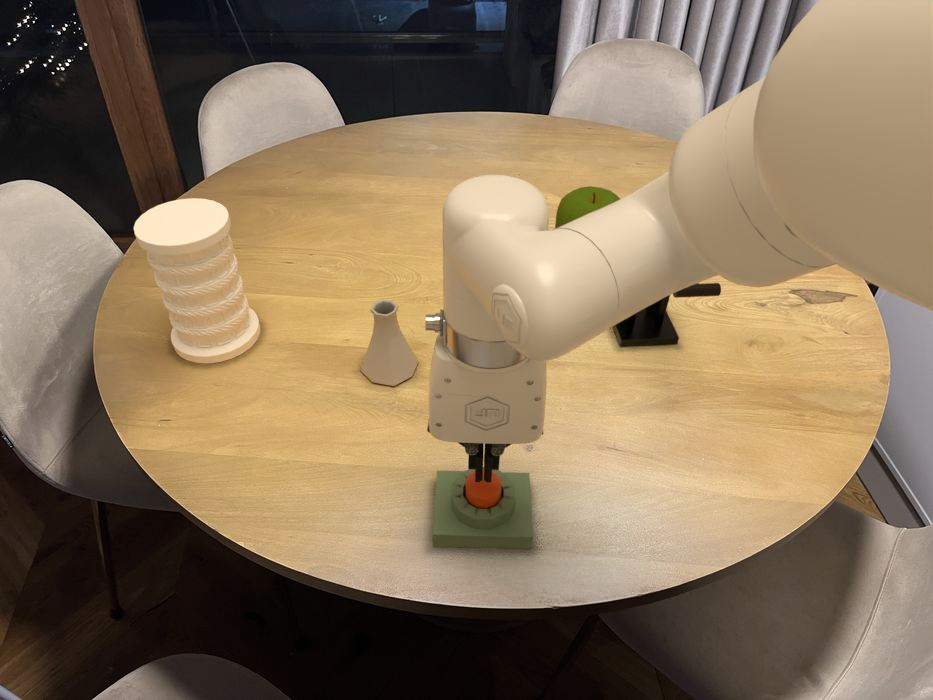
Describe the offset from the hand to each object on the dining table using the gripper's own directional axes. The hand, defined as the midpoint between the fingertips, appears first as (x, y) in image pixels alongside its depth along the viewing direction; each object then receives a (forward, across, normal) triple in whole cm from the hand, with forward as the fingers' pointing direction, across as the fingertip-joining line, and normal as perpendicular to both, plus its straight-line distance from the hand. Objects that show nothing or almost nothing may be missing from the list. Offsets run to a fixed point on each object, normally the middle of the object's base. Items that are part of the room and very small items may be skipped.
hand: (483, 470), depth 67 cm
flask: (+8, -12, +22) cm, 26 cm away
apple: (+8, +17, +50) cm, 53 cm away
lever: (-5, +23, +26) cm, 35 cm away
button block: (+7, 0, 0) cm, 7 cm away
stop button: (+4, 0, 0) cm, 4 cm away
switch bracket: (+7, +22, +33) cm, 40 cm away
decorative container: (+8, -36, +28) cm, 47 cm away
